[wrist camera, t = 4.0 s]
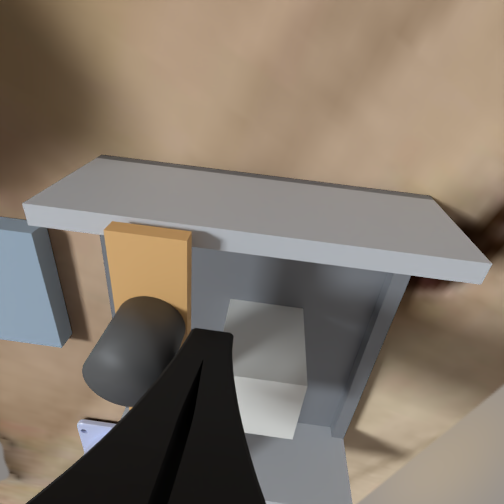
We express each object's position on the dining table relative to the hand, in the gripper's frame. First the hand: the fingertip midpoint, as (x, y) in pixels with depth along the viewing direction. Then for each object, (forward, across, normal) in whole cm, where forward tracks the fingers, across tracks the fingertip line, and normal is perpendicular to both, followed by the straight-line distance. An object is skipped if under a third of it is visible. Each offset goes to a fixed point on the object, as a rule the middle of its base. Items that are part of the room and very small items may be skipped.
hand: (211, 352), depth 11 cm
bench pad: (+8, +14, +4) cm, 17 cm away
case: (+8, -1, +6) cm, 9 cm away
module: (+7, -2, +6) cm, 9 cm away
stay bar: (+2, +2, +6) cm, 6 cm away
